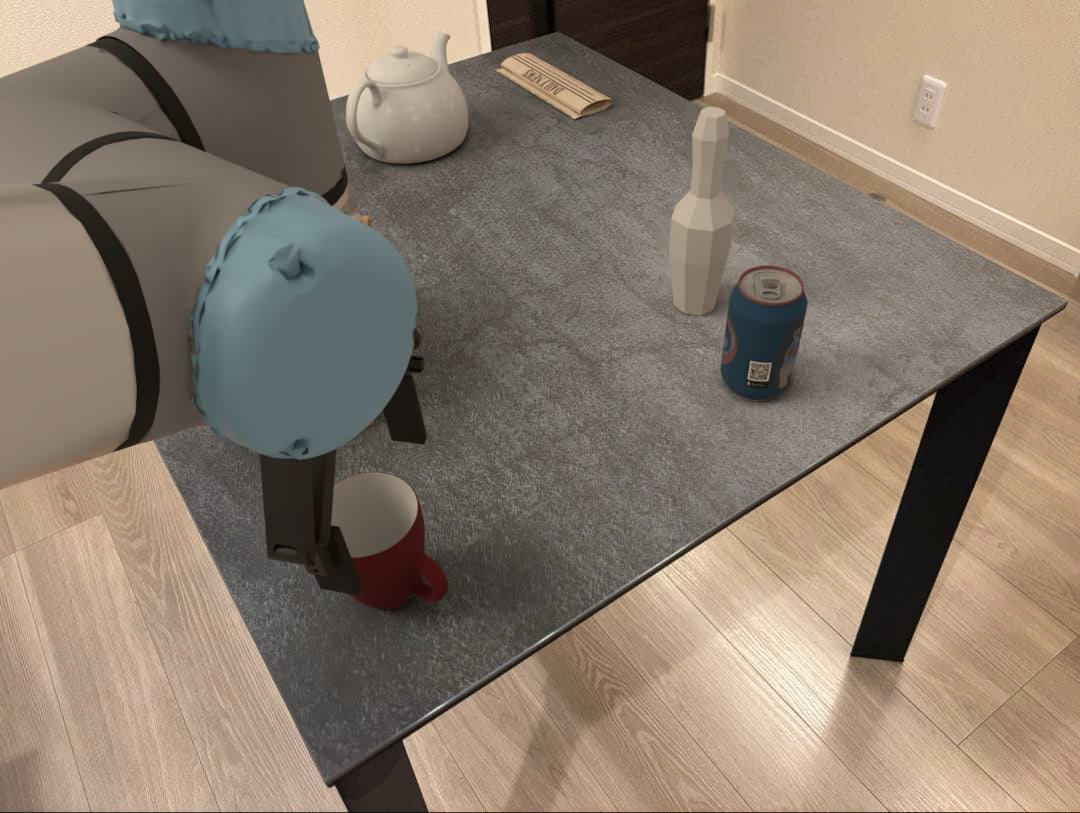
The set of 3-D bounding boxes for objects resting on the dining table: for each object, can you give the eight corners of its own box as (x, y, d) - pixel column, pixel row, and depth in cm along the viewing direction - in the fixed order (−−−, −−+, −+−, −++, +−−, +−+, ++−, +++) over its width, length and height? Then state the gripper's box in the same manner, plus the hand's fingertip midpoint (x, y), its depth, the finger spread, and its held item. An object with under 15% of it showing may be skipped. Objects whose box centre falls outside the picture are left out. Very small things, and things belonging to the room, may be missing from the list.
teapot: (343, 127, 128) (321, 37, 119) (457, 105, 132) (446, 15, 122) (360, 183, 116) (338, 87, 106) (487, 157, 119) (477, 62, 109)
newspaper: (612, 106, 128) (612, 95, 127) (574, 120, 126) (574, 108, 124) (531, 60, 143) (530, 49, 141) (496, 71, 140) (495, 60, 139)
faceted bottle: (706, 327, 89) (727, 134, 73) (655, 307, 92) (665, 118, 76) (734, 297, 92) (759, 106, 77) (684, 279, 95) (699, 92, 80)
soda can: (721, 355, 85) (733, 258, 77) (791, 362, 84) (811, 264, 76) (716, 402, 81) (729, 303, 72) (790, 410, 79) (811, 310, 71)
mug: (483, 575, 68) (468, 498, 61) (434, 659, 63) (412, 585, 56) (374, 536, 71) (349, 459, 64) (320, 612, 66) (286, 537, 59)
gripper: (254, 438, 35) (362, 676, 50) (435, 153, 52) (475, 394, 67) (102, 418, 37) (251, 654, 52) (326, 147, 54) (389, 384, 69)
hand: (378, 507), depth 60 cm, fingers open, 13 cm apart
